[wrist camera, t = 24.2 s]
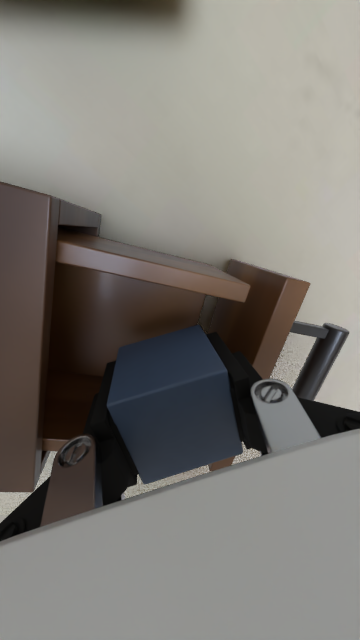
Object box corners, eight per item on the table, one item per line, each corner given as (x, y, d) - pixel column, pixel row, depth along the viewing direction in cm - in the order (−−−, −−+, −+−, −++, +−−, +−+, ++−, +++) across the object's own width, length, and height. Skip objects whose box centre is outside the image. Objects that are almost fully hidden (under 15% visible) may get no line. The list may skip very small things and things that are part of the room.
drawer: (314, 280, 17) (410, 308, 11) (260, 402, 21) (310, 475, 15) (34, 207, 13) (-66, 186, 7) (27, 375, 17) (-43, 462, 10)
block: (214, 388, 13) (244, 454, 9) (143, 410, 12) (143, 486, 9) (199, 323, 11) (227, 369, 7) (118, 346, 11) (105, 405, 7)
